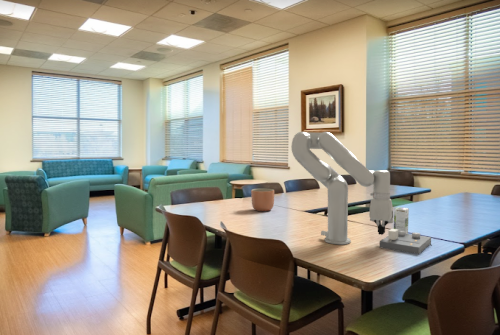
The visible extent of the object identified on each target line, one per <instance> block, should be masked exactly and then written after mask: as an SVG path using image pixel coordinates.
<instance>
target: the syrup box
mask: <svg viewBox="0 0 500 335" xmlns="http://www.w3.org/2000/svg"><path fill="white" fill-rule="evenodd" d="M409 210H410V209H409V208H408V207H401V206H399V207H398V206H397V207H396V208H393V229H397V230H398V231H405V234H409V218H410V216H409V215H410V214H409V212H410V211H409Z"/></svg>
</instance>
